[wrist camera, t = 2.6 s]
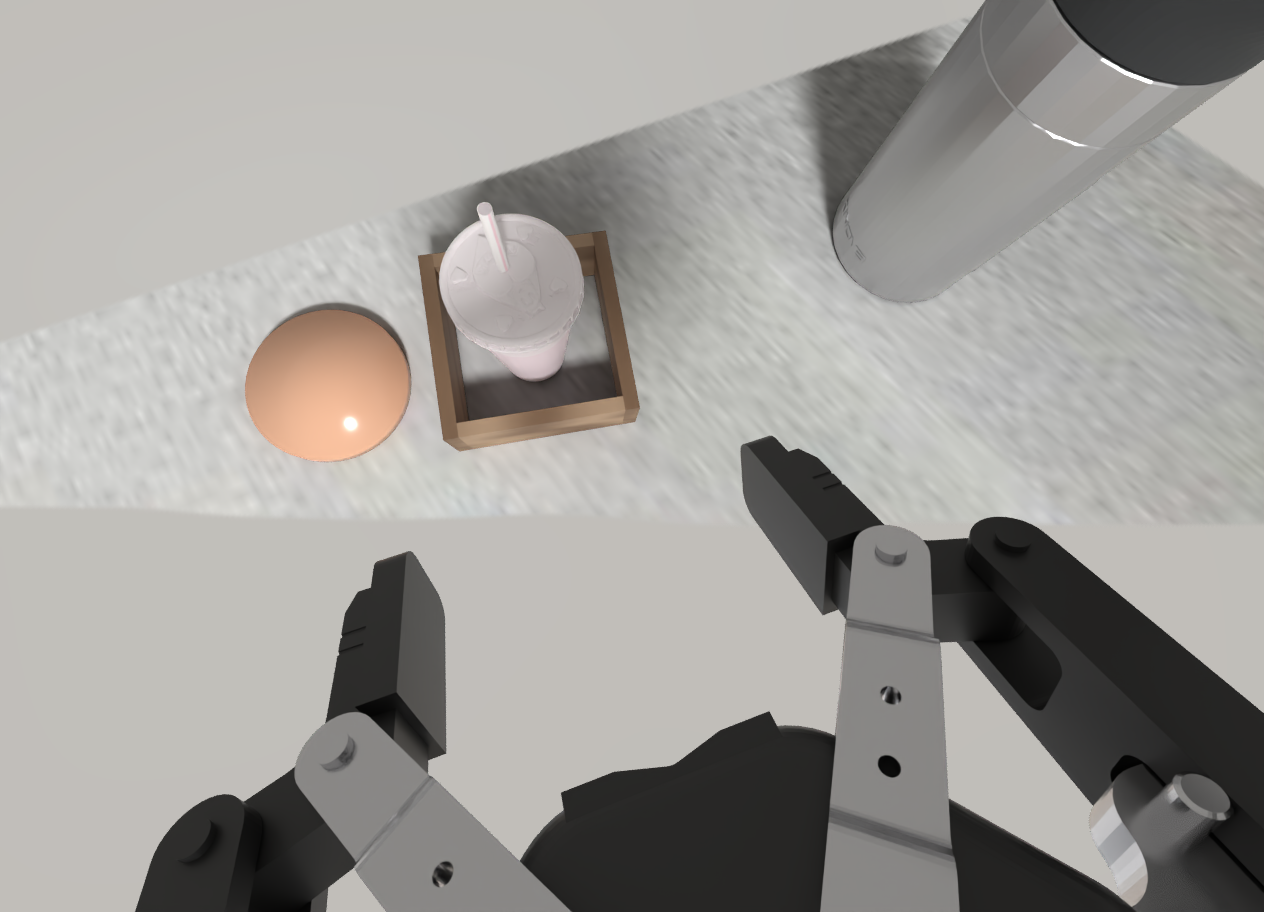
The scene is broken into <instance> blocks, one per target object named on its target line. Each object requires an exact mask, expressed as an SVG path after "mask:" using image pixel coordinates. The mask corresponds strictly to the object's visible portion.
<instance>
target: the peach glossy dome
mask: <svg viewBox="0 0 1264 912" xmlns="http://www.w3.org/2000/svg"><path fill="white" fill-rule="evenodd" d="M410 394H411V374H410V370H409V365H408V362H407V360H406V357H405V355H404V353H403V351H402V349H401V348H400V346H399V345H398V344H397V342H396V341H395V340H394V339H393V338H392V337H391V336H390V335H389V334H388V333H387V332H386V331H385V330H384V329H383V328H382V327H381V326H379V325H378V324H377V323H375V322H374V321H372V320H370V319H369V318H366V317H364V316H362V315H359V314H356V313H353V312H349V311H342V310H319V311H314V312H309V313H306V314H303V315H300V316H297V317H295V318H293V319H291V320H289V321H287V322H285V323H284V324H282V325H281V326H279V327H278V328H277V329H275V330H274V331H273V332H272V333H271V334H270V335H269V336H268V337H267V338H266V339H265V340H264V341H263V342H262V344H261V345H260V346H259V348H258V349H257V351H256V353H255V354H254V356H253V358H252V361H251V363H250V365H249V368H248V372H247V376H246V384H245V396H246V403H247V407H248V410H249V414H250V416H251V418H252V420H253V422H254V424H255V426H256V427H257V429H258V430H259V432H260V433H261V434H262V435H263V436H264V437H265V438H266V439H267V440H268V441H269V442H270V443H272V444H273V445H274V446H276V447H277V448H279V449H281V450H282V451H284V452H286V453H289V454H291V455H294V456H297V457H300V458H304V459H307V460H312V461H318V462H336V461H343V460H348V459H352V458H355V457H357V456H360V455H363V454H365V453H367V452H368V451H370V450H372V449H374V448H375V447H377V446H378V445H380V444H381V443H382V442H383V441H384V440H385V439H387V438H388V437H389V436H390V434H391V433H392V432H393V431H394V430H395V429H396V427H397V426H398V424H399V423H400V421H401V420H402V418H403V416H404V414H405V411H406V409H407V406H408V403H409V398H410Z"/></svg>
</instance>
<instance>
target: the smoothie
mask: <svg viewBox="0 0 1264 912" xmlns="http://www.w3.org/2000/svg"><path fill="white" fill-rule="evenodd" d="M477 212H478V215H479V218H480V220H479V221H477V222H475V223H473V224H471V225H470V226H468V227H467V228H466V229H464V230H463V231H462V232H461V233H460V234H459V235H458V236H457V237H456V238H455V239H454V240H453V241H452V243H451V244H450V246H449V247H448V249H447V251H446V253H445V255H444V257H443V260H442V263H441V267H440V274H439V285H440V292H441V296H442V299H443V302H444V305H445V307H446V309H447V312H448V314H449V316H450V317H451V319H452V321H453V323H454V324H455V326H456V327H457V328H458V329H459V330H460V331H461V332H462V333H463V334H464V335H465V336H466V337H467V338H468V339H469V340H471V341H472V342H474V343H476V344H478V345H480V346H481V347H483V348H485V349H488V350H489V351H490V352H492V353H493V354H494V355H495V356H496V357H497V358H498V359H499V360H500V361H501V362H502V363H503V364H504V365H505V366H506V367H507V368H508V369H509V370H510V371H511V372H512V373H513V374H514V375H516V376H517V377H518V378H520V379H523V380H526V381H530V382H539V381H543V380H546V379H548V378H550V377H552V376H553V375H555V374H556V373H557V372H558V370H559V369H560V368H561V366H562V364H563V361H564V357H565V352H566V347H567V342H568V338H569V333H570V328H571V326H572V324H573V323H574V321H575V319H576V318H577V316H578V315H579V312H580V309H581V305H582V302H583V299H584V278H583V275H582V269H581V264H580V261H579V258H578V256H577V253H576V251H575V249H574V248H573V246H572V245H571V243H570V242H569V240H568V239H567V238H566V237H565V236H564V235H563V234H562V233H561V232H560V231H559V230H557V229H556V228H555V227H553V226H552V225H550V224H549V223H547V222H545V221H543V220H541V219H538V218H535V217H532V216H528V215H523V214H499V215H494V212H493V209H492V206H491V205H490V204H489V203H487V202H482V203H480V204H479V205H478V206H477Z"/></svg>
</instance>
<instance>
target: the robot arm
mask: <svg viewBox="0 0 1264 912" xmlns="http://www.w3.org/2000/svg"><path fill="white" fill-rule="evenodd" d="M1262 60H1264V0H985V2H984V3H983V4H982V6H981V7H980V9H979V10H978V11H977V13H976V14H975V16H974V17H973V18H972V20H971V21H970V23H969V24H968V25H967V27H966V28H965V29H964V31H963V32H962V34H961V35H960V36H959V38H958V39H957V41H956V42H955V43H954V45H953V46H952V48H951V49H950V50H949V52H948V53H947V54H946V56H945V57H944V59H943V60H942V61H941V63H940V64H939V66H938V67H937V68H936V70H935V71H934V73H933V74H932V75H931V77H930V78H929V80H928V81H927V82H926V84H925V85H924V86H923V88H922V89H921V91H920V92H919V93H918V95H917V96H916V98H915V99H914V100H913V102H912V103H911V105H910V106H909V107H908V109H907V110H906V111H905V113H904V114H903V116H902V117H901V118H900V120H899V121H898V123H897V124H896V125H895V127H894V128H893V130H892V131H891V132H890V134H889V135H888V137H887V138H886V139H885V141H884V142H883V143H882V145H881V146H880V148H879V149H878V150H877V152H876V153H875V155H874V156H873V157H872V159H871V160H870V161H869V163H868V164H867V166H866V167H865V168H864V170H863V171H862V173H861V174H860V175H859V177H858V178H857V179H856V181H855V182H854V184H853V185H852V186H851V188H850V189H849V191H848V192H847V193H846V195H845V196H844V198H843V199H842V201H841V203H840V204H839V206H838V208H837V211H836V214H835V217H834V223H833V239H834V245H835V249H836V252H837V254H838V257H839V260H840V261H841V263H842V265H843V266H844V268H845V269H846V271H847V272H848V274H849V275H850V276H851V277H852V278H853V279H854V280H855V281H856V282H857V283H858V284H859V285H861V286H862V287H863V288H865V289H866V290H868V291H869V292H871V293H873V294H875V295H877V296H879V297H881V298H884V299H888V300H892V301H896V302H910V303H912V302H918V301H924V300H927V299H930V298H932V297H935V296H937V295H939V294H940V293H942V292H943V291H945V290H946V289H948V288H949V287H950V286H952V285H953V284H955V283H956V282H957V281H959V280H960V279H962V278H963V277H964V276H966V275H967V274H969V273H970V272H973V271H975V270H976V269H977V268H979V267H980V266H982V265H983V264H984V263H986V262H987V261H989V260H990V259H991V258H993V257H994V256H995V255H997V254H998V253H1000V252H1001V251H1002V250H1004V249H1005V248H1007V247H1008V246H1009V245H1011V244H1012V243H1013V242H1015V241H1016V240H1018V239H1019V238H1020V237H1022V236H1023V235H1025V234H1026V233H1027V232H1029V231H1030V230H1031V229H1033V228H1034V227H1036V226H1037V225H1038V224H1040V223H1041V222H1043V221H1044V220H1045V219H1047V218H1048V217H1049V216H1051V215H1052V214H1054V213H1055V212H1056V211H1058V210H1059V209H1061V208H1062V207H1063V206H1065V205H1066V204H1067V203H1069V202H1070V201H1072V200H1073V199H1074V198H1076V197H1077V196H1079V195H1080V194H1081V193H1083V192H1084V191H1085V190H1087V189H1088V188H1090V187H1091V186H1092V185H1094V184H1095V183H1096V182H1097V181H1098V180H1099V179H1100V178H1102V177H1103V176H1104V175H1106V174H1107V173H1108V172H1110V171H1111V170H1113V169H1114V168H1115V167H1117V166H1118V165H1120V164H1121V163H1122V162H1124V161H1125V160H1126V159H1128V158H1129V157H1131V156H1132V155H1133V154H1135V153H1136V152H1137V151H1139V150H1140V149H1142V148H1143V147H1144V146H1146V145H1147V144H1148V143H1150V142H1151V141H1153V140H1154V139H1155V138H1157V137H1158V136H1160V135H1161V134H1162V133H1163V132H1164V131H1166V130H1167V129H1169V128H1170V127H1171V126H1173V125H1174V124H1175V123H1177V122H1178V121H1180V120H1181V119H1182V118H1184V117H1185V116H1186V115H1188V114H1189V113H1191V112H1192V111H1193V110H1195V109H1196V108H1197V107H1199V106H1200V105H1202V104H1203V103H1204V102H1206V101H1207V100H1208V99H1210V98H1211V97H1213V96H1214V95H1215V94H1217V93H1218V92H1220V91H1221V90H1222V89H1224V88H1225V87H1226V86H1228V85H1229V84H1231V83H1232V82H1233V81H1235V80H1236V79H1237V78H1239V77H1240V76H1242V75H1243V74H1244V73H1246V72H1247V71H1248V70H1249V69H1251V68H1252V67H1254V66H1256V65H1257V64H1258V63H1260V62H1261V61H1262ZM741 466H742V481H743V494H744V498H745V502H746V505H747V507H748V509H749V511H750V513H751V515H752V517H753V518H754V519H755V521H756V522H757V524H758V525H759V526H760V528H761V529H762V531H763V532H764V533H765V535H766V536H767V538H768V539H769V540H770V542H771V543H772V545H773V546H774V547H775V549H776V550H777V551H778V553H779V554H780V556H781V557H782V559H783V560H784V561H785V563H786V564H787V566H788V567H789V568H790V570H791V571H792V573H793V574H794V575H795V577H796V578H797V580H798V581H799V582H800V584H801V585H802V586H803V588H804V590H805V591H806V592H807V594H808V595H809V597H810V598H811V599H812V601H813V602H814V604H815V605H816V606H817V608H818V609H819V611H820V612H821V613H822V615H825V614H827V613H830V612H833V611H835V610H838V609H839V611H840V612H841V613H842V615H844V617H845V618H846V624H845V634H844V646H843V656H842V666H841V677H840V688H839V699H838V708H837V719H836V729H835V736H834V735H832V734H829V733H827V732H824V731H820V730H817V729H813V728H808V727H802V726H786V725H785V726H777V725H776V723H775V721H774V719H773V717H772V716H771V714H770V712H766V713H764V714H761V715H758V716H756V717H753V718H751V719H748V720H746V721H743V722H740V723H738V724H735V725H733V726H730V727H728V728H725V729H723V730H720V731H719V732H717V733H716V734H715V735H713V736H712V737H711V738H709V739H708V740H707V741H706V742H704V743H703V744H701V745H700V746H699V747H698V748H696V749H695V750H693V751H692V752H691V753H689V754H688V755H687V756H685V757H684V758H683V759H681V760H680V761H679V762H677V763H676V764H674V765H671V766H667V767H658V768H649V769H638V770H628V771H619V772H613V773H610V774H608V775H605V776H602V777H600V778H597V779H595V780H592V781H590V782H587V783H585V784H582V785H580V786H577V787H574V788H572V789H569V790H567V791H564V792H562V793H561V795H562V802H563V808H564V810H563V811H562V812H561V813H559V814H558V815H557V816H556V817H555V818H553V819H552V820H551V821H550V822H549V823H548V824H547V825H546V826H545V827H544V828H543V829H542V830H541V832H540V833H539V834H538V835H537V836H536V837H535V839H534V840H533V841H532V843H531V844H530V846H529V847H528V849H527V850H526V852H525V853H524V855H523V857H522V858H521V860H520V861H519V860H518V859H517V858H516V857H515V856H514V855H512V853H511V852H510V851H508V850H507V849H506V848H505V847H504V846H503V845H502V844H501V843H500V842H499V841H498V840H497V839H496V838H495V837H494V836H493V835H492V834H491V833H490V832H489V831H488V830H487V829H486V828H485V827H484V826H483V825H482V824H481V823H480V822H479V821H478V820H477V819H475V818H474V817H473V815H472V814H470V813H469V812H468V811H467V810H466V809H465V808H464V807H463V806H462V805H461V804H460V803H459V802H458V801H457V800H456V799H455V798H454V797H453V796H452V795H451V794H450V793H449V792H448V791H447V790H446V789H445V788H444V787H443V786H442V785H441V784H439V782H438V781H436V780H435V779H434V778H433V777H431V776H429V775H428V760H430V759H433V758H435V757H438V756H441V755H443V754H446V687H445V686H446V682H445V681H446V679H445V616H444V610H443V606H442V602H441V599H440V597H439V595H438V593H437V591H436V589H435V588H434V586H433V584H432V583H431V581H430V579H429V578H428V576H427V574H426V573H425V571H424V569H423V568H422V566H421V564H420V563H419V561H418V559H417V558H416V556H415V555H414V554H413V553H412V552H411V551H408V552H405V553H402V554H399V555H396V556H393V557H390V558H387V559H384V560H380V561H377V562H376V563H375V565H374V569H373V577H372V584H371V588H369V589H365V590H362V591H359V592H358V593H357V594H356V596H355V598H354V599H353V601H352V603H351V604H350V606H349V608H348V609H347V611H346V613H345V617H344V622H343V628H342V638H341V639H340V645H339V656H337V662H336V668H335V673H334V679H333V685H332V690H331V696H330V702H329V708H328V713H327V718H326V722H325V724H324V725H322V726H321V727H320V728H319V729H318V730H317V731H316V732H315V733H314V734H313V735H312V736H311V737H310V739H309V740H308V741H307V742H306V743H305V745H304V747H303V748H302V750H301V752H300V754H299V756H298V759H297V762H296V766H295V767H294V768H293V769H292V770H290V771H289V772H288V773H286V774H285V775H283V776H282V777H280V778H279V779H277V780H276V781H275V782H273V783H272V784H270V785H268V786H267V787H265V788H264V789H262V790H261V791H259V792H258V793H256V794H255V795H253V796H252V797H251V798H249V799H247V800H246V801H244V802H243V801H241V800H240V799H238V798H237V797H235V796H233V795H226V794H223V795H217V796H214V797H211V798H209V799H207V800H205V801H202V802H201V803H199V804H198V805H196V806H194V807H193V808H192V809H190V810H189V811H188V812H187V813H185V814H184V815H183V816H182V817H181V818H180V819H179V820H178V821H177V822H176V823H175V824H174V825H173V826H172V827H171V828H170V830H169V831H168V832H167V834H166V835H165V836H164V838H163V839H162V841H161V842H160V844H159V846H158V847H157V850H156V851H155V853H154V856H153V858H152V861H151V864H150V867H149V870H148V873H147V876H146V880H145V883H144V886H143V889H142V892H141V895H140V898H139V901H138V905H137V908H136V911H135V912H326V907H327V895H328V887H329V886H330V885H332V884H333V883H335V882H336V881H337V880H339V878H341V877H342V876H344V875H345V874H346V873H347V872H349V871H350V870H352V869H353V868H355V870H356V872H357V874H358V875H359V877H360V878H361V879H362V881H363V882H364V883H365V885H366V886H367V887H368V888H369V890H370V891H371V892H372V894H373V895H374V896H375V898H376V899H377V900H378V902H379V903H380V904H381V906H382V907H383V908H384V909H385V911H386V912H1264V713H1263V712H1261V711H1260V710H1259V709H1258V708H1257V707H1256V706H1254V705H1253V704H1252V703H1251V702H1249V701H1248V700H1247V699H1246V698H1245V697H1243V696H1242V695H1241V694H1240V693H1239V692H1237V691H1236V690H1235V689H1234V688H1232V687H1231V686H1230V685H1229V684H1228V683H1226V682H1225V681H1224V680H1223V679H1221V678H1220V677H1219V676H1218V675H1217V674H1215V673H1214V672H1213V671H1212V670H1210V669H1209V668H1208V667H1207V666H1206V665H1204V664H1203V663H1202V662H1201V661H1200V660H1198V659H1197V658H1196V657H1195V656H1193V655H1192V654H1191V653H1190V652H1189V651H1187V650H1186V649H1185V648H1184V647H1183V646H1181V645H1180V644H1179V643H1178V642H1176V641H1175V640H1174V639H1173V638H1172V637H1170V636H1169V635H1168V634H1167V633H1166V632H1164V631H1163V630H1162V629H1161V628H1159V627H1158V626H1157V625H1156V624H1155V623H1153V622H1152V621H1151V620H1150V619H1149V618H1147V617H1146V616H1145V615H1144V614H1143V613H1141V612H1140V611H1139V610H1138V609H1136V608H1135V607H1134V606H1133V605H1132V604H1130V603H1129V602H1128V601H1127V600H1126V599H1124V598H1123V597H1122V596H1121V595H1119V594H1118V593H1117V592H1116V591H1115V590H1113V589H1112V588H1111V587H1110V586H1109V585H1107V584H1106V583H1105V582H1103V581H1102V580H1101V579H1100V578H1099V577H1098V576H1096V575H1095V574H1094V573H1093V572H1091V571H1090V570H1089V569H1088V568H1087V567H1085V566H1084V565H1083V564H1082V563H1081V562H1079V561H1078V560H1077V559H1076V558H1075V557H1073V556H1072V555H1071V554H1070V553H1068V552H1067V551H1066V550H1065V549H1063V548H1062V547H1061V546H1060V545H1059V544H1058V543H1056V542H1055V541H1054V540H1053V539H1051V538H1050V537H1049V536H1048V535H1047V534H1045V533H1044V532H1043V531H1041V530H1040V529H1039V528H1037V527H1035V526H1033V525H1032V524H1029V523H1027V522H1024V521H1021V520H1018V519H1014V518H1008V517H991V518H986V519H983V520H981V521H979V522H977V523H976V524H975V525H974V526H973V527H972V529H971V531H970V535H969V538H963V539H949V540H931V541H927V540H922V539H921V538H920V537H918V536H917V535H916V534H914V533H913V532H911V531H908V530H906V529H904V528H901V527H897V526H891V525H884V524H883V523H882V522H881V521H880V520H879V519H878V518H877V517H876V516H875V515H874V514H873V513H872V512H871V511H870V510H869V509H868V508H867V507H866V506H865V505H864V504H863V503H862V502H861V501H860V500H859V499H858V498H857V497H856V496H855V495H854V494H853V493H852V492H851V491H850V490H849V489H848V488H847V487H846V486H845V485H842V483H841V481H840V480H839V479H838V478H837V477H836V476H835V475H834V474H831V471H830V470H829V469H828V468H827V467H826V466H825V465H824V464H823V463H822V462H821V461H820V460H819V459H818V458H817V457H815V456H813V455H811V454H809V453H806V452H804V451H802V450H800V449H795V450H792V451H789V452H788V451H787V450H786V449H785V448H784V447H783V446H782V445H781V443H780V442H779V441H778V440H777V439H776V438H775V437H773V436H768V437H765V438H761V439H758V440H755V441H752V442H749V443H746V444H743V445H742V446H741ZM940 642H957V643H959V645H960V646H961V647H962V648H963V650H964V651H965V652H966V653H967V654H968V656H969V657H970V658H971V659H972V661H973V662H974V663H975V664H976V665H977V667H978V668H979V669H980V670H981V671H982V673H983V674H984V675H985V676H986V677H987V679H988V680H989V681H990V682H991V683H992V685H993V686H994V687H995V688H996V689H997V690H998V692H999V693H1000V694H1001V695H1002V697H1003V698H1004V699H1005V700H1006V701H1007V703H1008V704H1009V705H1010V706H1011V708H1012V709H1013V710H1014V711H1015V712H1016V714H1017V715H1018V716H1019V717H1020V718H1021V719H1022V721H1023V722H1024V723H1025V724H1026V726H1027V727H1028V728H1029V729H1030V730H1031V732H1032V733H1033V734H1034V735H1035V736H1036V738H1037V739H1038V740H1039V741H1040V742H1041V744H1042V745H1043V746H1044V747H1045V748H1046V750H1047V751H1048V752H1049V753H1050V755H1051V756H1052V757H1053V758H1054V759H1055V760H1056V762H1057V763H1058V764H1059V765H1060V767H1061V768H1062V769H1063V770H1064V771H1065V773H1066V774H1067V775H1068V776H1069V777H1070V779H1071V780H1072V781H1073V782H1074V783H1075V784H1076V786H1077V787H1078V788H1079V789H1080V791H1081V792H1082V793H1083V794H1084V795H1085V797H1086V798H1087V799H1088V800H1089V801H1090V803H1091V804H1092V805H1093V807H1092V809H1091V812H1090V815H1089V826H1090V832H1091V835H1092V838H1093V841H1094V843H1095V845H1096V847H1097V849H1098V850H1099V852H1100V853H1101V855H1102V857H1103V858H1104V860H1105V861H1106V863H1107V865H1108V867H1109V868H1110V870H1111V872H1112V874H1113V876H1114V878H1115V881H1116V884H1117V888H1118V894H1119V896H1118V895H1116V894H1115V893H1114V892H1112V891H1111V890H1109V889H1108V888H1106V887H1105V886H1103V885H1102V884H1100V883H1099V882H1097V881H1095V880H1093V879H1092V878H1090V877H1088V876H1086V875H1085V874H1083V873H1081V872H1079V871H1077V870H1076V869H1074V868H1072V867H1070V866H1068V865H1067V864H1065V863H1063V862H1061V861H1059V860H1058V859H1056V858H1054V857H1052V856H1051V855H1049V854H1047V853H1045V852H1044V851H1042V850H1040V849H1038V848H1036V847H1034V846H1033V845H1031V844H1029V843H1027V842H1026V841H1024V840H1022V839H1020V838H1018V837H1017V836H1015V835H1013V834H1011V833H1009V832H1008V831H1006V830H1004V829H1002V828H1000V827H999V826H997V825H995V824H993V823H992V822H990V821H988V820H986V819H985V818H983V817H981V816H979V815H977V814H975V813H974V812H972V811H970V810H969V809H966V808H965V807H963V806H961V805H960V804H958V803H956V802H954V801H952V800H951V799H949V798H948V779H947V760H946V740H945V722H944V701H943V683H942V662H941V647H940Z"/></svg>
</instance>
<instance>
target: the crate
mask: <svg viewBox="0 0 1264 912" xmlns="http://www.w3.org/2000/svg"><path fill="white" fill-rule="evenodd" d="M565 237H566V238H567V239H568V240H569V242H570V243H571V245H572V246H573V248H574V249H575V251H576V253H577V256H578V258H579V261H580V264H581V269H582V275H583V276H590V275H594V276H595V281H596V287H597V292H598V297H599V303H600V308H601V313H602V319H603V324H604V329H605V335H606V340H607V345H608V351H609V356H610V361H611V367H612V372H613V377H614V383H615V388H616V393H617V397H613V398H607V399H601V400H595V401H589V402H583V403H577V404H571V405H564V406H558V407H552V408H546V409H540V410H534V411H528V412H522V413H515V414H509V415H503V416H497V417H491V418H485V419H479V420H473V421H469V418H468V411H467V404H466V398H465V391H464V384H463V377H462V370H461V363H460V356H459V350H458V343H457V336H456V329H455V324H454V323H453V321H452V319H451V317H450V316H449V314H448V312H447V309H446V307H445V305H444V302H443V299H442V296H441V292H440V285H439V274H440V267H441V263H442V260H443V257H444V255H445V253H446V252H442V253H435V254H427V255H420V256H418V260H419V267H420V275H421V282H422V289H423V296H424V304H425V311H426V318H427V325H428V333H429V340H430V347H431V354H432V362H433V369H434V376H435V383H436V391H437V398H438V405H439V412H440V420H441V427H442V434H443V440H444V441H445V442H447V443H448V444H450V445H451V446H452V447H454V448H455V449H457V450H458V451H464V450H470V449H476V448H482V447H488V446H494V445H500V444H506V443H512V442H518V441H524V440H530V439H536V438H542V437H548V436H554V435H559V434H565V433H571V432H577V431H583V430H589V429H595V428H601V427H607V426H613V425H619V424H625V423H631V422H635V421H636V418H637V415H638V412H639V409H640V406H639V401H638V396H637V390H636V385H635V380H634V375H633V370H632V365H631V359H630V354H629V349H628V344H627V339H626V334H625V328H624V323H623V318H622V313H621V308H620V303H619V297H618V292H617V287H616V282H615V277H614V271H613V266H612V261H611V256H610V251H609V246H608V240H607V235H606V231H599V232H592V233H584V234H577V235H569V236H565Z"/></svg>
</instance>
